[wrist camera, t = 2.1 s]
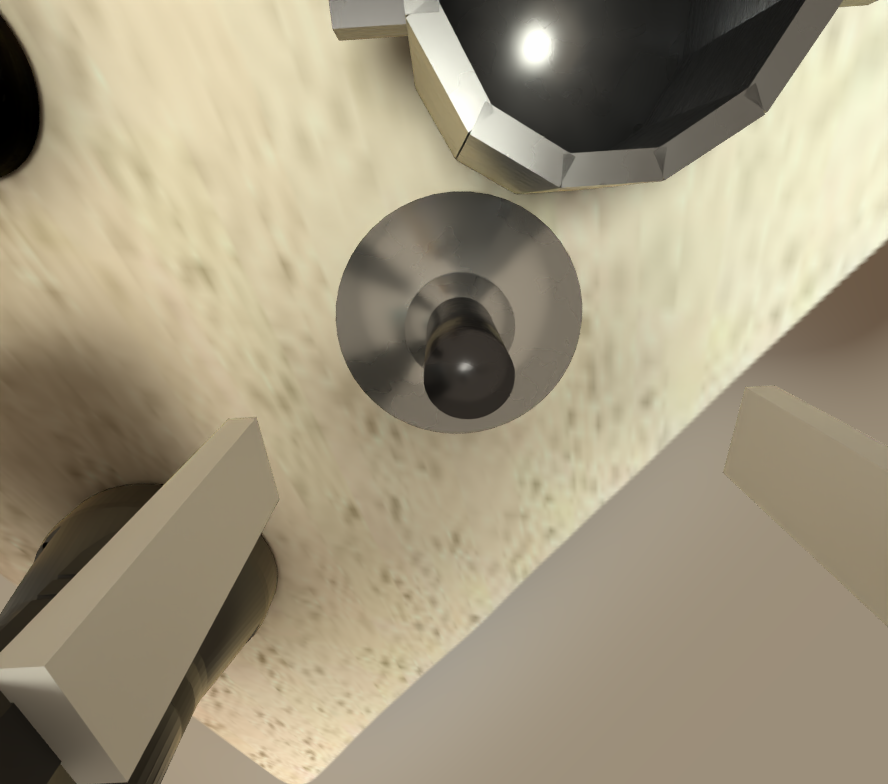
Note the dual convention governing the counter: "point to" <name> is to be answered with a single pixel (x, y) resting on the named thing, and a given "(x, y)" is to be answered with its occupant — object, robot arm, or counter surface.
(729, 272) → the counter surface
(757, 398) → the robot arm
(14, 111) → the container
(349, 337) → the lid
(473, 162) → the pot
